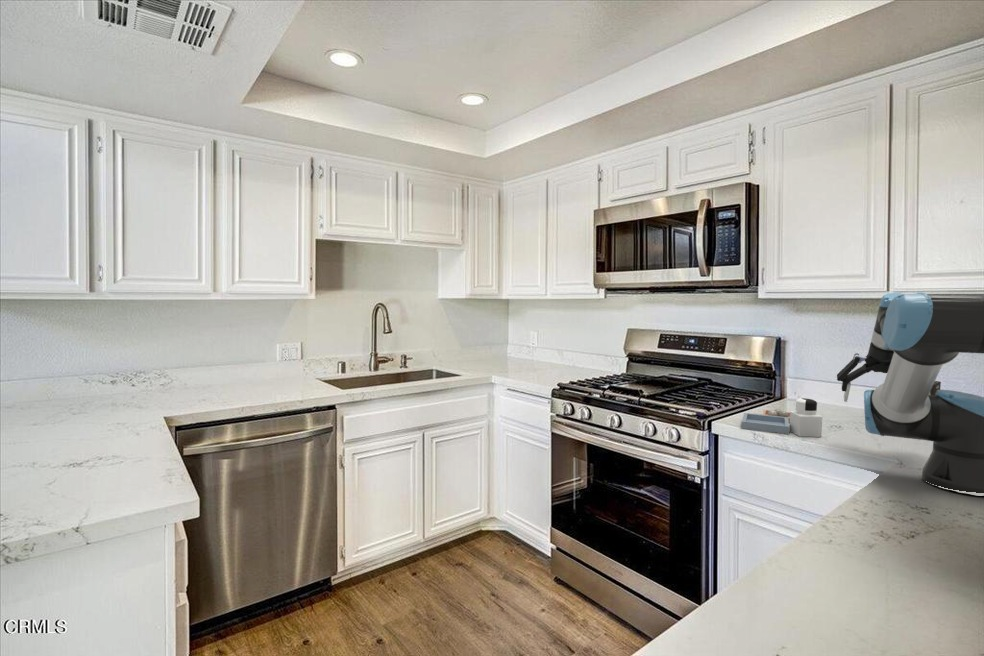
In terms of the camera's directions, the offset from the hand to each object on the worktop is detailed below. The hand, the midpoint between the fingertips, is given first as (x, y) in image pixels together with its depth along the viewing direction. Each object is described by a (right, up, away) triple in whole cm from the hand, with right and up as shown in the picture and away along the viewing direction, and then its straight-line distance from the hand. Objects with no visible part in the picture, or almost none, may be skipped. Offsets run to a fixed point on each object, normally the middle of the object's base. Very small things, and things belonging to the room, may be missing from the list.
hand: (871, 403), depth 156 cm
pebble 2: (-9, -9, +36) cm, 38 cm away
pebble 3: (-9, -9, +32) cm, 35 cm away
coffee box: (+38, -12, +26) cm, 48 cm away
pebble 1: (-12, -9, +34) cm, 37 cm away
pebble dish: (-10, -11, +34) cm, 38 cm away
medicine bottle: (-11, -13, +15) cm, 23 cm away
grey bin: (-20, -12, +24) cm, 34 cm away
